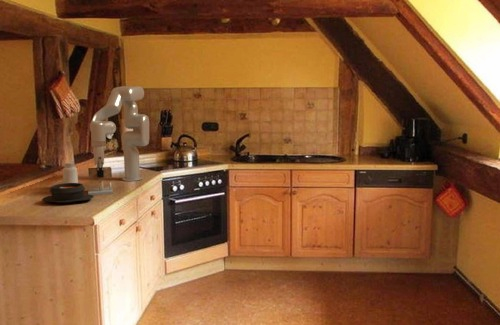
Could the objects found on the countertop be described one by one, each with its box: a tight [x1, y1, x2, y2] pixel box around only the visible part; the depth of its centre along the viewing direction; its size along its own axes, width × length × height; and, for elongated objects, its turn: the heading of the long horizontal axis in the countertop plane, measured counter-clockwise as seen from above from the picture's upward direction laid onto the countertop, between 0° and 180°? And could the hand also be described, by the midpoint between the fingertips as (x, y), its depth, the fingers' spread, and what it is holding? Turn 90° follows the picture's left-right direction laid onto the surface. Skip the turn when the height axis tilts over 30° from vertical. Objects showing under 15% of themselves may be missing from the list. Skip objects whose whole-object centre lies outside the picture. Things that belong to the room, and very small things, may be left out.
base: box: [87, 180, 114, 196], centre depth 245 cm, size 13×13×6 cm
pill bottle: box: [62, 162, 79, 184], centre depth 256 cm, size 8×8×15 cm
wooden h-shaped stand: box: [87, 166, 113, 179], centre depth 243 cm, size 12×6×5 cm, turn 112°
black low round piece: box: [41, 182, 95, 205], centre depth 223 cm, size 25×19×8 cm
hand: (100, 175), depth 244 cm, fingers closed on wooden h-shaped stand, 6 cm apart
